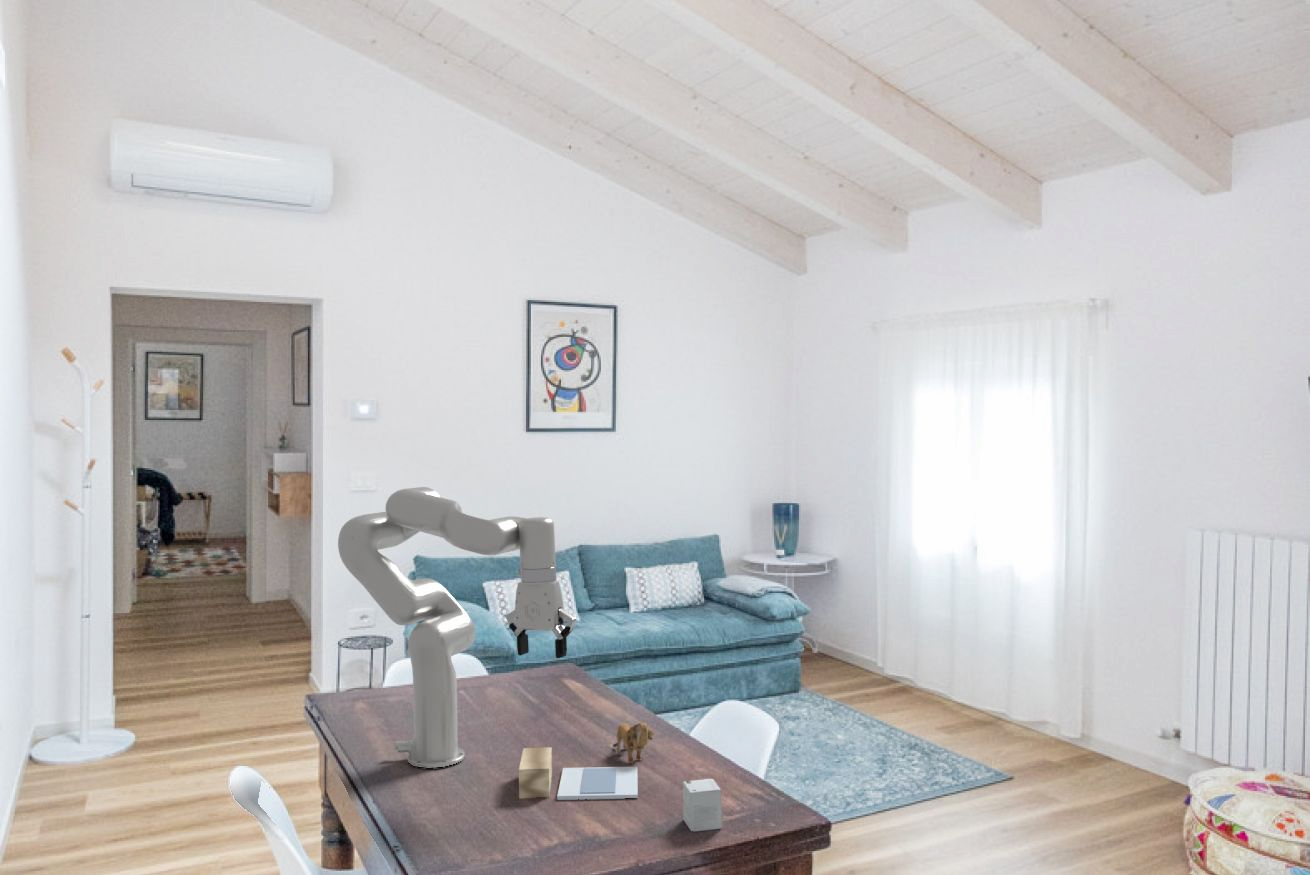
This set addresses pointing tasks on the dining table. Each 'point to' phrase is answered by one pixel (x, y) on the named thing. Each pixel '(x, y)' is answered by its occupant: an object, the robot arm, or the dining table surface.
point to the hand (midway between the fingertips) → (542, 655)
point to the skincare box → (702, 805)
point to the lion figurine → (633, 739)
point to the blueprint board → (598, 783)
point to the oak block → (535, 772)
